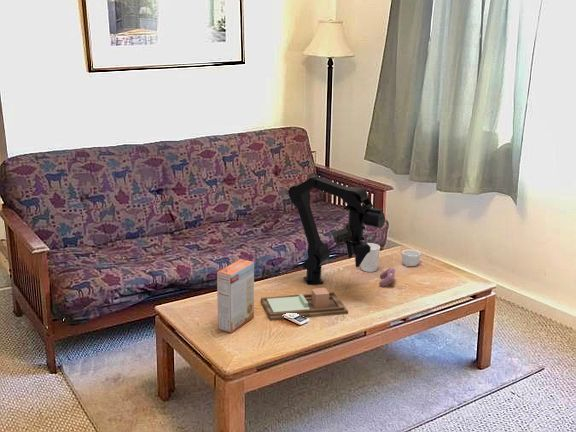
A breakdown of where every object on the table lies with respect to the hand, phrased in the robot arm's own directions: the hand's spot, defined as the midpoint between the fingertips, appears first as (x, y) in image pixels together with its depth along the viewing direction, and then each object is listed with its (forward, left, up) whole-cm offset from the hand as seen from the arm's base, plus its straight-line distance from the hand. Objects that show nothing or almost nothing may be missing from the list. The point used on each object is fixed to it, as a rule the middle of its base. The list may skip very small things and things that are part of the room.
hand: (353, 262), depth 256 cm
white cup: (-21, +15, -12) cm, 28 cm away
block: (+9, -15, -12) cm, 22 cm away
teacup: (-23, +35, -12) cm, 43 cm away
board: (+9, -21, -12) cm, 26 cm away
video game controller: (-6, +17, -12) cm, 21 cm away
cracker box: (+17, -47, -12) cm, 52 cm away
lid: (+9, -27, -11) cm, 31 cm away
